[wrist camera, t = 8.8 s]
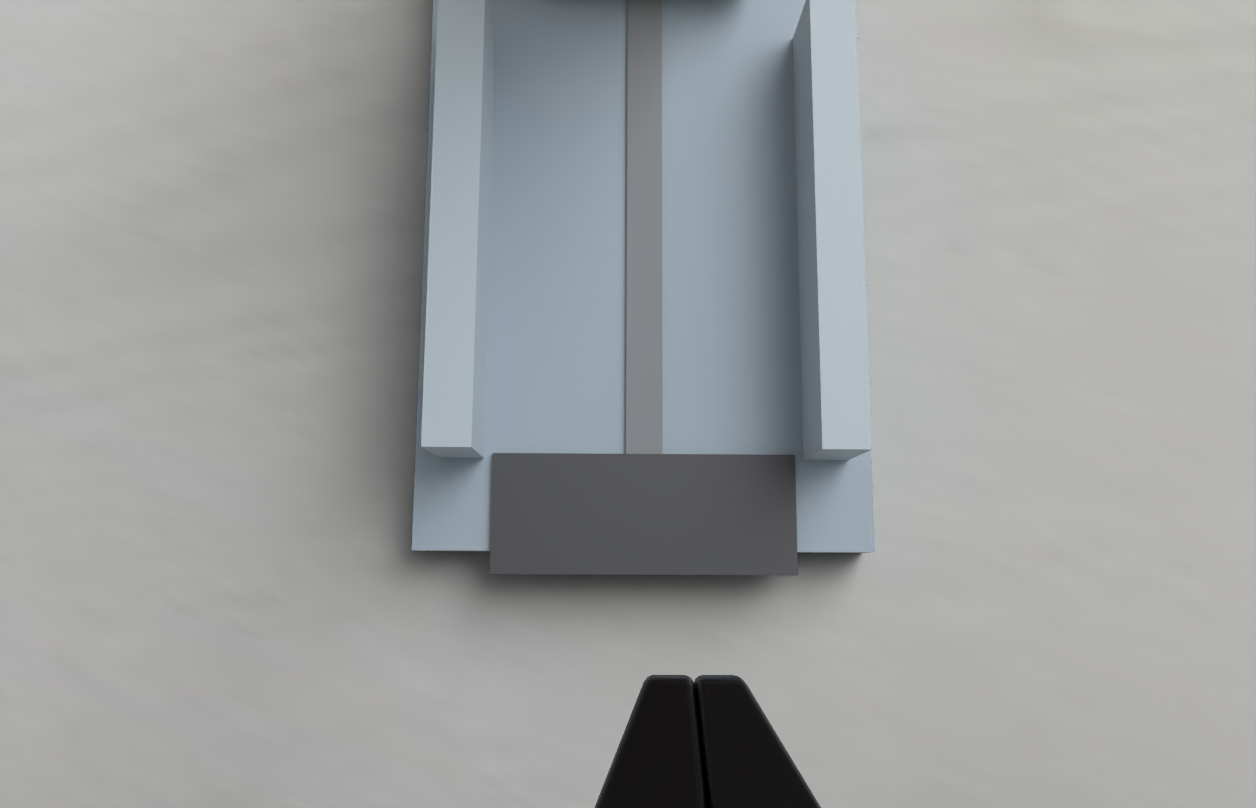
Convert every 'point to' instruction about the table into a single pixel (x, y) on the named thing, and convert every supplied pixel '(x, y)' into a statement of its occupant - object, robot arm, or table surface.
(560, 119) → the trough board
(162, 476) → the table surface
